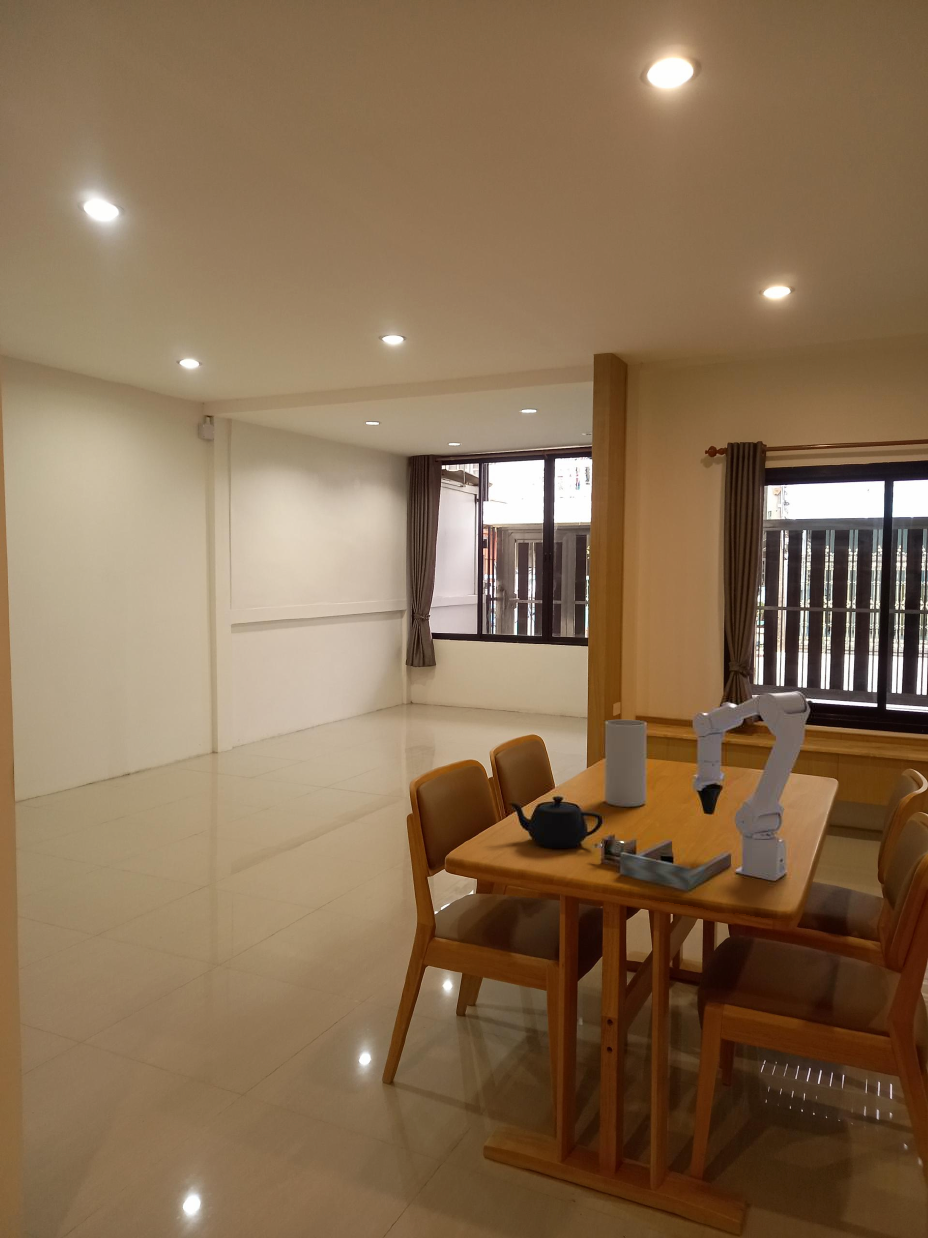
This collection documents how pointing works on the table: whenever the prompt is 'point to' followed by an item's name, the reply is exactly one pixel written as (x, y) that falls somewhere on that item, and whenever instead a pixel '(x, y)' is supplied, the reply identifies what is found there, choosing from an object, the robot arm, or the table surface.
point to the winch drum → (615, 849)
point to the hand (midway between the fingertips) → (708, 813)
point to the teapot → (557, 823)
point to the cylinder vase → (625, 763)
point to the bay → (669, 868)
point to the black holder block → (667, 857)
